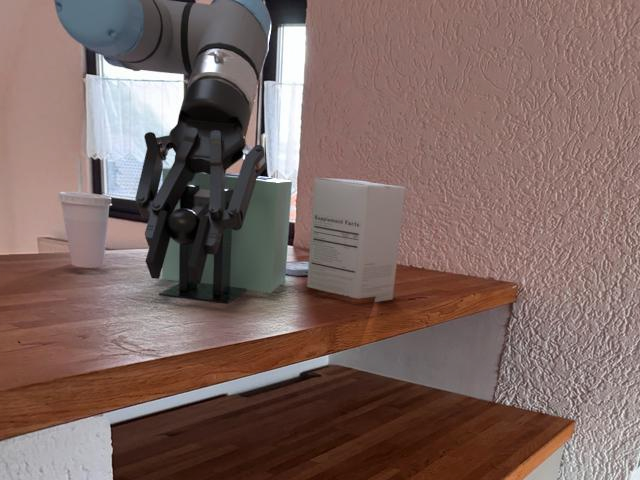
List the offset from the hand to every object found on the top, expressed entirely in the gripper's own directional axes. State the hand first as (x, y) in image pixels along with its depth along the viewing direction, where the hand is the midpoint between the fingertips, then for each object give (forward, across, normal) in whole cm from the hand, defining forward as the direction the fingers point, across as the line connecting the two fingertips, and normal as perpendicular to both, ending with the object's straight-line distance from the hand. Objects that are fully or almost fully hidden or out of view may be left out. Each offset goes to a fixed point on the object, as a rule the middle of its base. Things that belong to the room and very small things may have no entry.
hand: (173, 272), depth 74 cm
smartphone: (-29, +7, +36) cm, 47 cm away
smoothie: (-12, -18, +19) cm, 28 cm away
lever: (-8, 0, +4) cm, 9 cm away
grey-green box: (-13, 0, +20) cm, 24 cm away
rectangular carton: (-16, +16, +23) cm, 32 cm away
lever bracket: (-5, 0, +12) cm, 14 cm away
